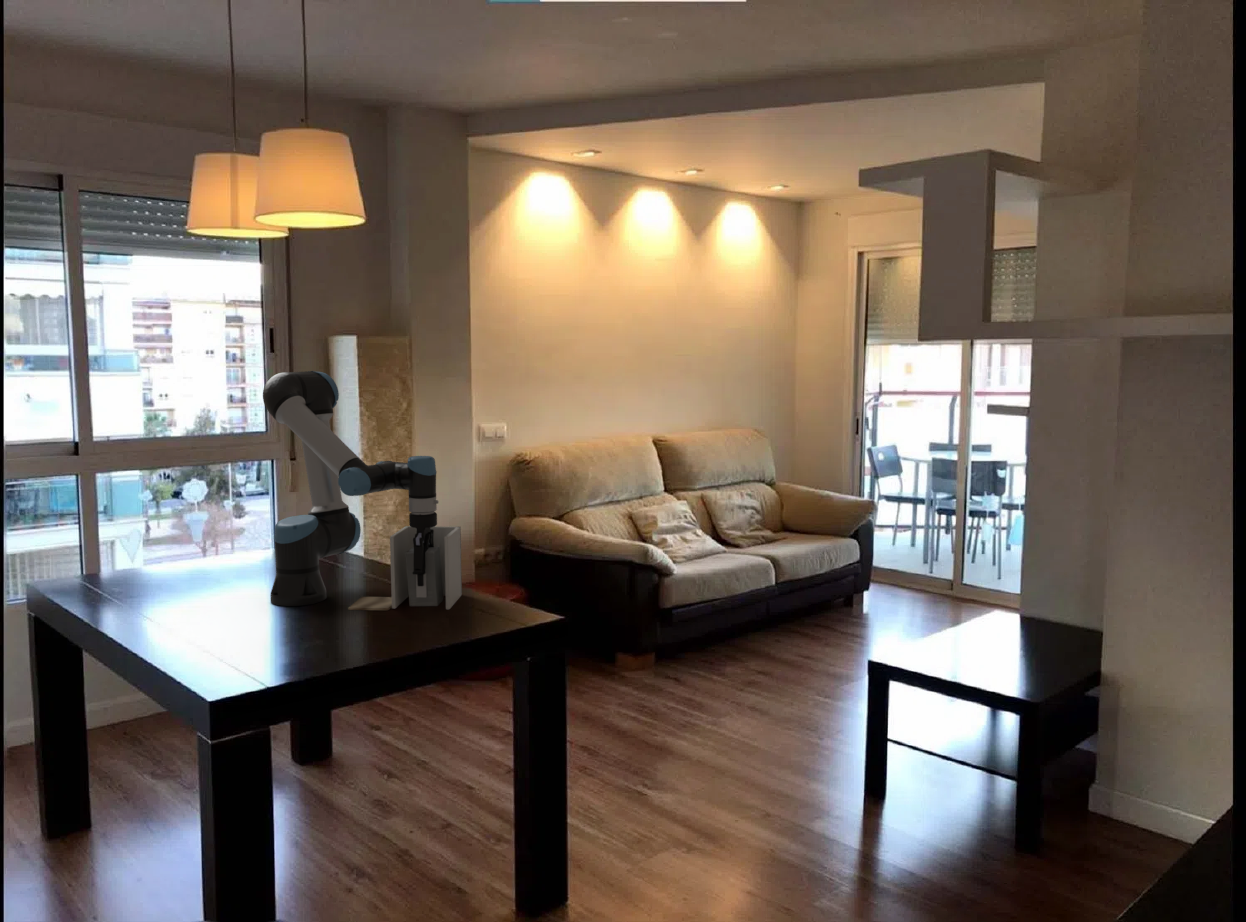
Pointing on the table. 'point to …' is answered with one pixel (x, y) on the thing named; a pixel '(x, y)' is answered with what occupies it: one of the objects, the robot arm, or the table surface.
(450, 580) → the shelf bay
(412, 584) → the skincare box
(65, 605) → the table surface
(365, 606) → the cork coaster
